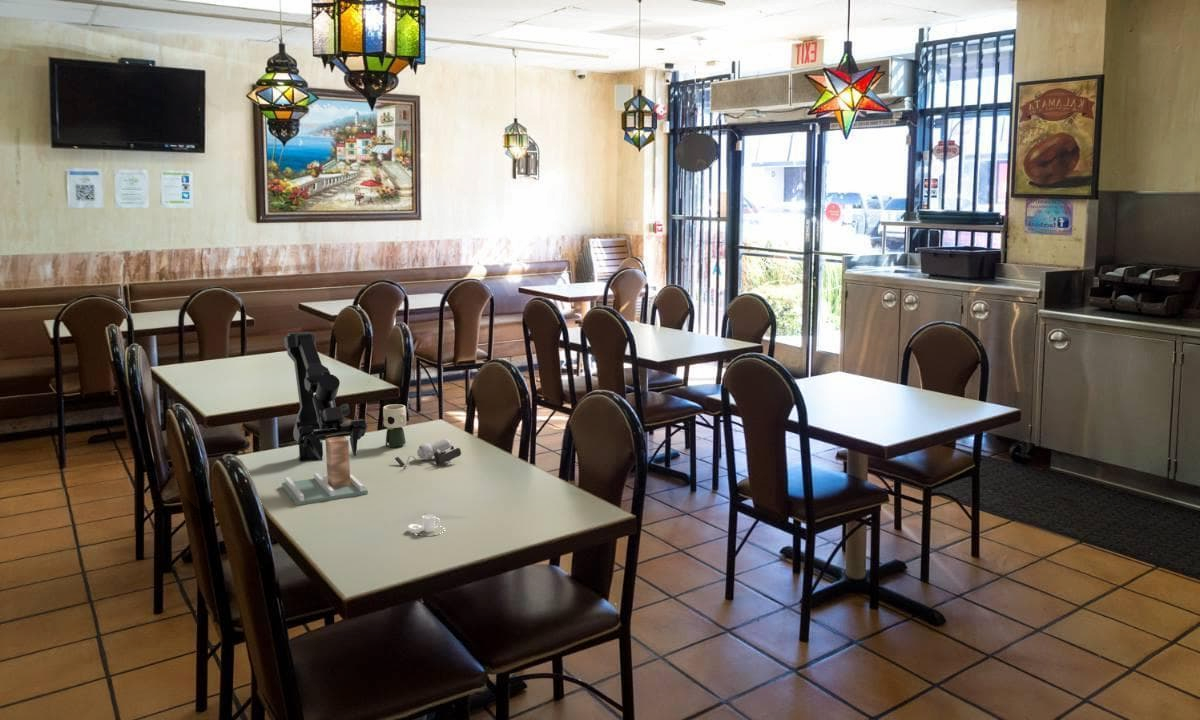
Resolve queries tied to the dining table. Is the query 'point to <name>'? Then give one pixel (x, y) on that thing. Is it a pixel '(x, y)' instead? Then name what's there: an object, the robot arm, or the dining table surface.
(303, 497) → the slot board
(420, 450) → the clip-on lamp
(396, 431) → the character mug
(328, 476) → the plug block
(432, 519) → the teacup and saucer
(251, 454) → the dining table surface
